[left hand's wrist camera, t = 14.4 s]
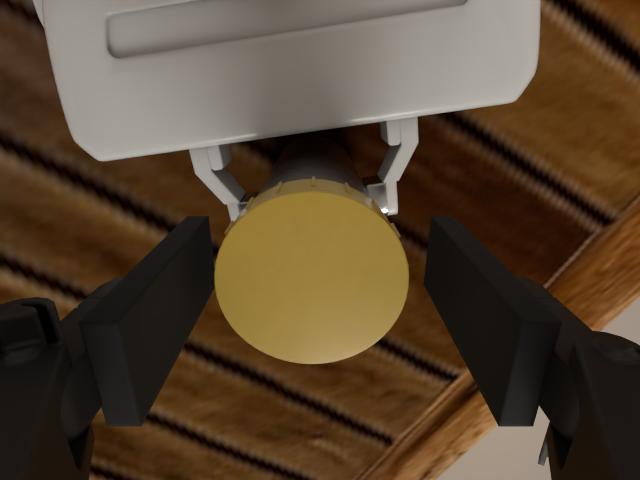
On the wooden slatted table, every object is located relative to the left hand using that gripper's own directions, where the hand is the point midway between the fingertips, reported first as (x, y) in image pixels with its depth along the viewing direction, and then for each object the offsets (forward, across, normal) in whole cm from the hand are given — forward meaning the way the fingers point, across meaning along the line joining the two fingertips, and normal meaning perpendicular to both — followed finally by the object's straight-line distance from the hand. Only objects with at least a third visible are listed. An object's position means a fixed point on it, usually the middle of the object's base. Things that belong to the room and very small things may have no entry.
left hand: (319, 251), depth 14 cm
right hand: (+6, 0, -1) cm, 6 cm away
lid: (-2, 0, 0) cm, 2 cm away
